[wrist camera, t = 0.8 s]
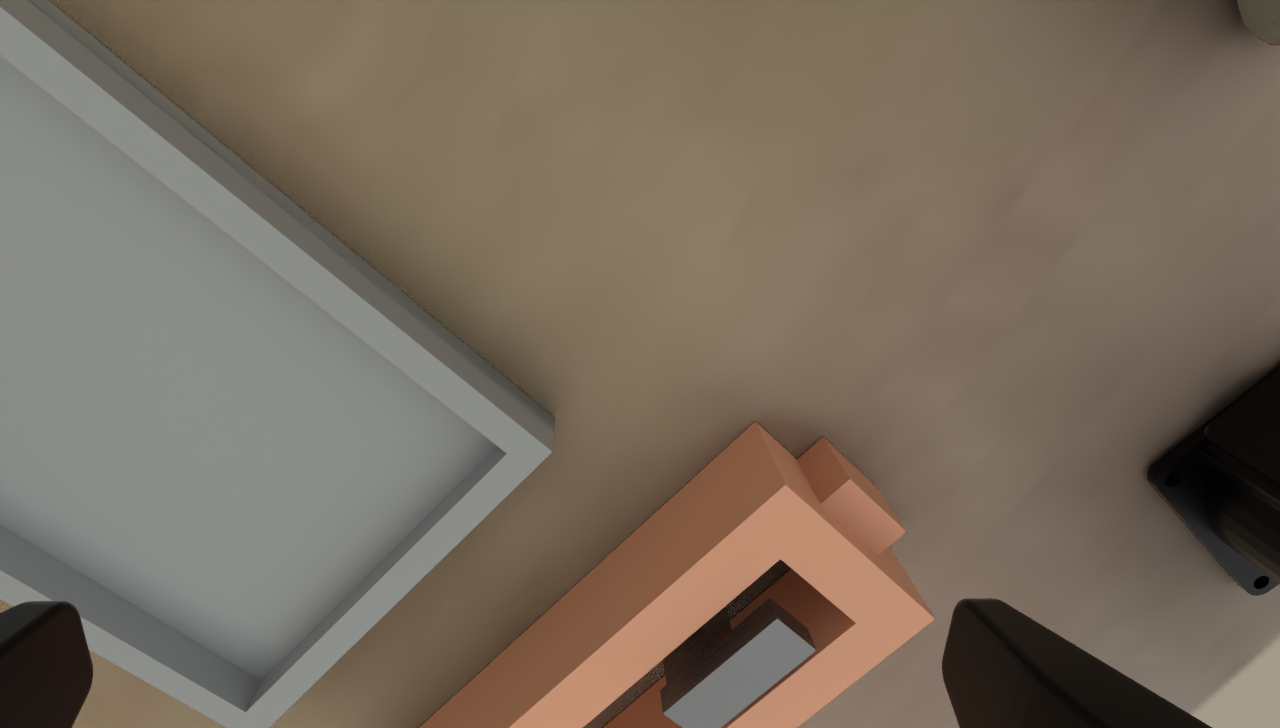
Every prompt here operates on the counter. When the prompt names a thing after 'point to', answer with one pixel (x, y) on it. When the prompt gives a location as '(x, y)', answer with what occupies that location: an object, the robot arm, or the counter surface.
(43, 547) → the tray
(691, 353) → the counter surface
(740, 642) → the gray t-shaped block
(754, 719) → the salmon slotted frame
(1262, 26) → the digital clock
